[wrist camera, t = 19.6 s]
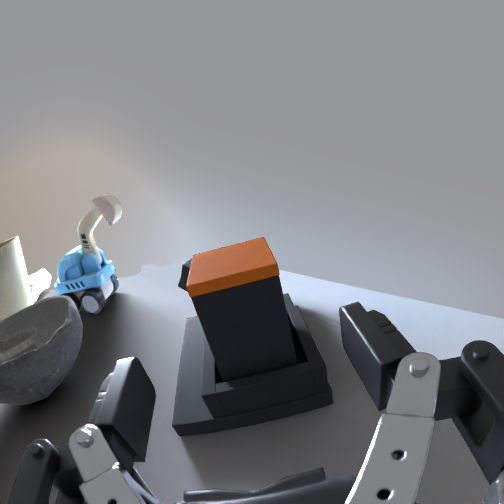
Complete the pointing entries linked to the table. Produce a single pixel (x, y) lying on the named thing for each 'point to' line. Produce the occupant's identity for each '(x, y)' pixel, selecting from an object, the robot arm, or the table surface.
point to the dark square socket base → (246, 384)
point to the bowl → (38, 349)
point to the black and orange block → (242, 309)
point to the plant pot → (13, 279)
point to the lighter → (185, 275)
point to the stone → (38, 283)
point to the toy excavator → (90, 261)
